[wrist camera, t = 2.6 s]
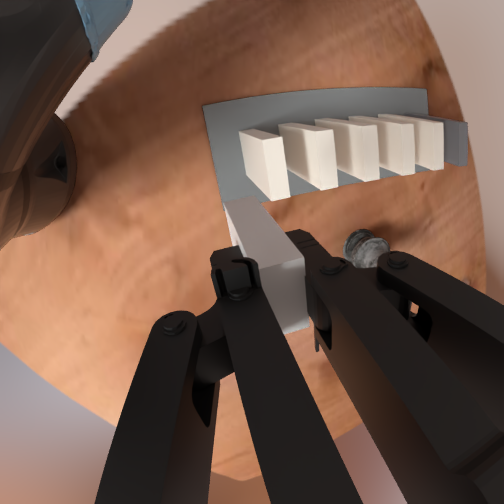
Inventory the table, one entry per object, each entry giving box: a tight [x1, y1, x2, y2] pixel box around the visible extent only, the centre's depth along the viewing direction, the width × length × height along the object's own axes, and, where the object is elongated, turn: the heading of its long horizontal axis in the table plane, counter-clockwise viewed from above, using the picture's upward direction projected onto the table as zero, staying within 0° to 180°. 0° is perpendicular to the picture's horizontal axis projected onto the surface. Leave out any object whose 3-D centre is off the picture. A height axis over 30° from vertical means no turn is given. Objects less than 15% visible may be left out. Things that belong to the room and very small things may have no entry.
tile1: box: [239, 129, 290, 201], centre depth 28 cm, size 2×5×10 cm, turn 9°
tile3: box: [315, 118, 380, 182], centre depth 29 cm, size 2×5×10 cm, turn 9°
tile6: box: [404, 113, 468, 166], centre depth 30 cm, size 2×5×10 cm, turn 9°
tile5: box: [378, 114, 444, 170], centre depth 30 cm, size 2×5×10 cm, turn 9°
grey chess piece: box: [343, 229, 390, 268], centre depth 36 cm, size 6×6×12 cm
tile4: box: [349, 116, 415, 176], centre depth 29 cm, size 2×5×10 cm, turn 9°
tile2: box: [278, 122, 338, 190], centre depth 28 cm, size 2×5×10 cm, turn 9°
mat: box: [202, 87, 430, 211], centre depth 33 cm, size 30×12×1 cm, turn 99°
